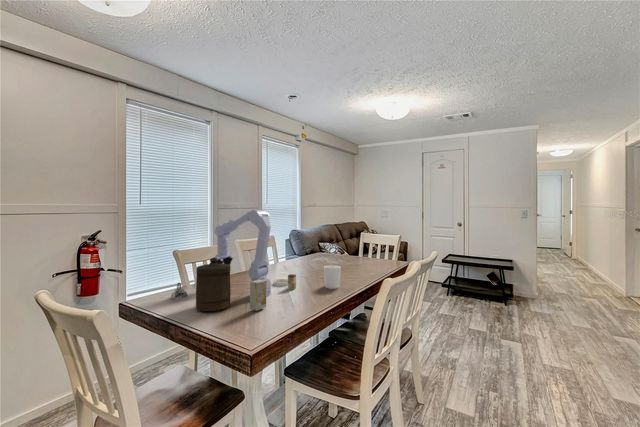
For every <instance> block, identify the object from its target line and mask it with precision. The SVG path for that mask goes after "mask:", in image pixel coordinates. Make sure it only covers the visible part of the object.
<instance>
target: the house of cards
mask: <svg viewBox="0 0 640 427" xmlns="http://www.w3.org/2000/svg"><path fill="white" fill-rule="evenodd" d="M188 296H189V294H187V291H185V290H184V288H182V284H181V282H178V283H177V285H176V289H174V291H173V293H171V295H170V300H172V301H177V300H180V299H184V298H187V297H188Z"/></svg>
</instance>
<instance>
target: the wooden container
mask: <svg viewBox="0 0 640 427" xmlns="http://www.w3.org/2000/svg"><path fill="white" fill-rule="evenodd" d="M217 261H218V259H217V258H214V257H211V258H210V259H209V262H210V263H209V264H202V265H199V266H196V285H195V308H196V309H197V310H198V311H203V312H215V311H221V310H224V309H226V308H228V307H230V306H231V264H230V265H228V264H224V263H223V264H218V263H217Z"/></svg>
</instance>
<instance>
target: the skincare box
mask: <svg viewBox="0 0 640 427" xmlns="http://www.w3.org/2000/svg"><path fill="white" fill-rule="evenodd" d="M249 287H250V289H249V290H250V291H249V292H250V294H249V295H250V297H249V309H250V310H252V311H259V310H262V309H265V308H267V297H266V280H261V279H260V280H255V281H250V285H249Z"/></svg>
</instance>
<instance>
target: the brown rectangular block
mask: <svg viewBox="0 0 640 427" xmlns="http://www.w3.org/2000/svg"><path fill="white" fill-rule="evenodd" d="M287 279H288V285H287V290H289V291H294V290H295V289H296V288H297V275H296V274H293V273H292V274H291V273H290V274H288V275H287Z"/></svg>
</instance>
